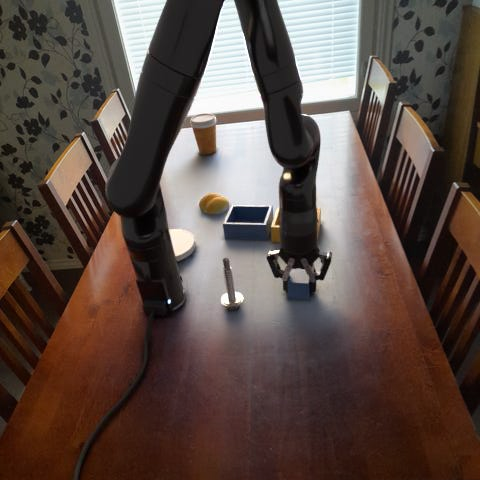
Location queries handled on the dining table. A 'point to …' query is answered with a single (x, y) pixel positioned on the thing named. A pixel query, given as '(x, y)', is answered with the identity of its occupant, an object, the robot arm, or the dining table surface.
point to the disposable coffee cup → (205, 132)
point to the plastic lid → (182, 243)
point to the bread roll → (214, 204)
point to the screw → (230, 288)
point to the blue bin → (248, 222)
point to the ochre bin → (275, 225)
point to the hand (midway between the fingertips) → (299, 291)
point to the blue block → (298, 285)
